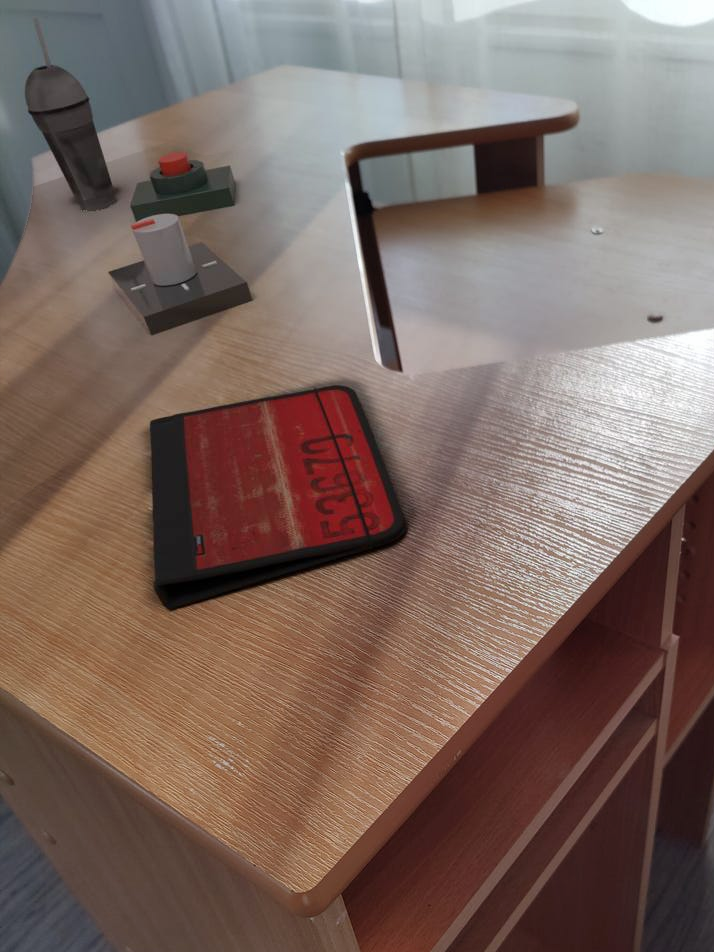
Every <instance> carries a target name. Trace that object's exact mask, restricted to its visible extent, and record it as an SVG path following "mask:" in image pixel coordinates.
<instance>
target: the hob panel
mask: <svg viewBox="0 0 714 952" xmlns="http://www.w3.org/2000/svg"><path fill="white" fill-rule="evenodd" d="M188 246H189V249H190V252H191V255H192V258H193V260H194V263H195V266H196V269H197V273H196V274H195V275H194V276H193V277H192V278H190V279H189V280H187V281H184V282H182V283H178V284H174V285H168V286H159V285H155V284H153V283H152V281H151V278H150V276H149V273H148V270H147V268H146V265H145V263H144V260H140V261H137V262H134V263H131V264H128V265H125V266H122V267H119V268H116V269H112V270H109V271H107V274H108V277H109V278H110V282H111V283H112V286H113V288H114V291H116V293H117V294H118V295H119V296H120V298H121V299H122V300H123V302H124V303H125V304H126V305H127V307H128V308H129V310H130V311H131V313H133V314H134V316H135V317H136V319H137V320H138V321H139V322H140V324H141V325H142V326H143V327H144V328H145V330H146V331H147V333H148V334H149V335H150V336H151V337H152V336H155V335H158V334H160V333H163V332H166V331H169V330H172V329H175V328H178V327H180V326H183V325H186V324H190V323H192V322H196V321H198V320H202V319H204V318H206V317H210V316H213V315H215V314H219V313H222V312H224V311H227V310H230V309H233V308H236V307H239V306H243V305H245V304H247V303H250V302H253V301H254V300H253V297H252V294H251V291H250V287H249V284H248V282H247V280H245V278H243V277H242V276H241V275H240V274H239V273H238V272H236V271H235V270H234V269H233V268H231V266H229V265H228V264H227V263H226V262H225V261H224V260H223V259H222V258H221V257H219V256H218V255H217V254H216V253H215V252H214V251H213V250H211V249H210V248H209V247H208V246H207V245H206V244H205V243H204V242H202V241H200V242H198V243H194V244H191V245H188Z"/></svg>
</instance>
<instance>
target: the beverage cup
mask: <svg viewBox="0 0 714 952" xmlns="http://www.w3.org/2000/svg"><path fill="white" fill-rule="evenodd" d="M32 20H33V23H34V24H33V25H34V27H35V30H36V34H37V38H38V41H39V44H40V48H41V51H42V54H43V58H44V62H45V65H41V66H38V67H35V68H34V69H33V70H31V72H30V73H29V75H28V76H27V79H26V81H25V83H24V84H25V85H24V100H25V104H26V106H27V112H28V114H29V115H31V118H32V121H33V122H34V124H35V125H36V127H37V128H38V130H39V131H40V132H41V134H42V135H43V137H44V139H45V141H46V143H47V145H48V147H49V149H50V152H51V153H52V155H53V157H54V159H55V161H56V163H57V165H58V167H59V169H60V172H61V173H62V175H63V177H64V179H65V181H66V182H67V185H68V187H69V188H70V191H71V193H72V195H73V197H74V198H75V199H76V201H77V203H78V205H79V206H80V208H81V211H83V210H85V211H86V210H87V211H94V212H97V211H96V210H99V211H102V210H101V209H103V210H106V209H109V208H110V207H109V206H111V205H113V204H114V203H115V202H116V201H117V198H116V194H115V191H114V185H113V182H112V179H111V175H110V173H109V169H108V165H107V162H106V160H105V156H104V153H103V149H102V146H101V142H100V140H99V136H98V132H97V130H96V126H95V123H94V116H93V110H92V106H91V103H90V97H89V96H88V95H87V93H86V91H85V89H84V87H83V85H82V84H81V82H80V81H79V80H78V79H77V78H76V77H75V76H74V75H73V74H72V73H71V72H69V71H68V70H67V69H65V68H63V67H61V66H58V65H54V64H51V60H50V57H49V53H48V50H47V46H46V42H45V39H44V36H43V33H42V29H41V25H40V22H39V19H38V17H34V18H32ZM116 203H117V202H116ZM116 203H115V204H116ZM115 204H114V205H115ZM114 205H113V206H114ZM108 207H109V208H108ZM111 207H112V206H111ZM105 208H106V209H105ZM85 211H84V212H85Z"/></svg>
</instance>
